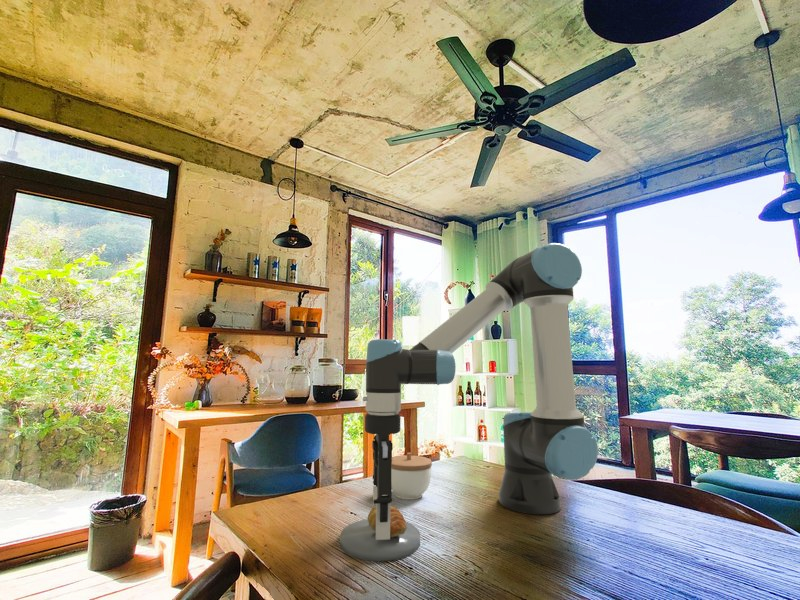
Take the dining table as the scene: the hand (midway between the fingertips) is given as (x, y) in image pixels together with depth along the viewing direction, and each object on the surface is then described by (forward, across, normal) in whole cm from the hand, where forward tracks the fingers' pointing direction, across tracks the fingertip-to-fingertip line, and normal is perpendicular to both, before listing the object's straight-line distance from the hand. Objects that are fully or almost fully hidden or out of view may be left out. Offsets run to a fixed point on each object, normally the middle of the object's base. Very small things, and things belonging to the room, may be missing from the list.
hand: (380, 528), depth 78 cm
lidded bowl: (+3, -28, +10) cm, 30 cm away
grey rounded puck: (+2, 0, 0) cm, 2 cm away
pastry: (0, 0, +2) cm, 2 cm away
